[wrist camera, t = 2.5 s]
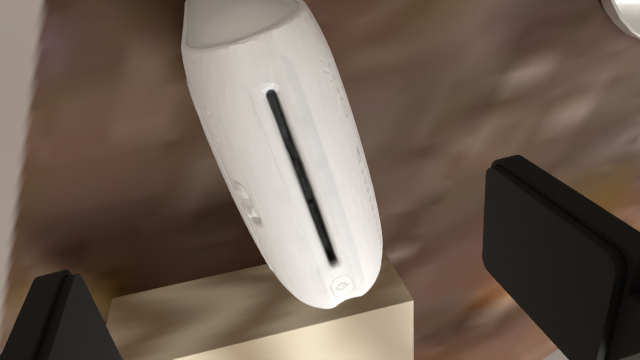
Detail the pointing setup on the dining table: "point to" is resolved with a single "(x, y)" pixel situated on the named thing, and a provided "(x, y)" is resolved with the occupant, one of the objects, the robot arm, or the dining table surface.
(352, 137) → the photo printer
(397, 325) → the birch block
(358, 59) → the dining table surface
